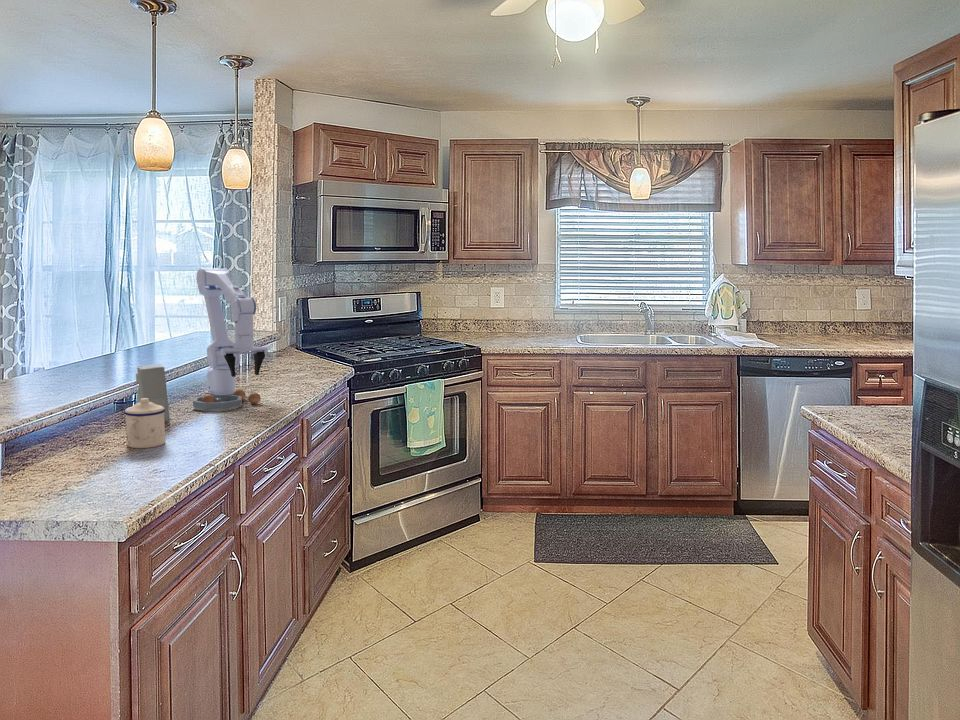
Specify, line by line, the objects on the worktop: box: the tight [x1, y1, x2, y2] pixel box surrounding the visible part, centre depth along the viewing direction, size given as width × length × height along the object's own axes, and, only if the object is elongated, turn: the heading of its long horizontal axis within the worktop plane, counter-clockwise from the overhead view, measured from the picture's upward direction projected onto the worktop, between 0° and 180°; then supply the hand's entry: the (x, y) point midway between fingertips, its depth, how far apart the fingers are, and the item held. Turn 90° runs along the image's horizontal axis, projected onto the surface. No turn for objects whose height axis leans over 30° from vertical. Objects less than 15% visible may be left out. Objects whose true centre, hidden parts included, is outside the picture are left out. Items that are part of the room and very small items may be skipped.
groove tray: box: [192, 394, 243, 412], centre depth 216 cm, size 14×14×3 cm
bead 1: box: [232, 389, 247, 401], centre depth 226 cm, size 4×4×4 cm
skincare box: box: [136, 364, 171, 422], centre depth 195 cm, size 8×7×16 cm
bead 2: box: [247, 391, 261, 405], centre depth 221 cm, size 4×4×4 cm
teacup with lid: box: [123, 398, 166, 449], centre depth 168 cm, size 12×9×12 cm
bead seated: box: [202, 393, 215, 403], centre depth 212 cm, size 4×4×4 cm
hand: (245, 375), depth 225 cm, fingers open, 7 cm apart
